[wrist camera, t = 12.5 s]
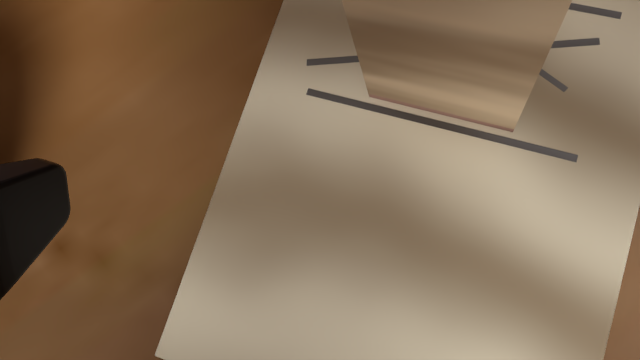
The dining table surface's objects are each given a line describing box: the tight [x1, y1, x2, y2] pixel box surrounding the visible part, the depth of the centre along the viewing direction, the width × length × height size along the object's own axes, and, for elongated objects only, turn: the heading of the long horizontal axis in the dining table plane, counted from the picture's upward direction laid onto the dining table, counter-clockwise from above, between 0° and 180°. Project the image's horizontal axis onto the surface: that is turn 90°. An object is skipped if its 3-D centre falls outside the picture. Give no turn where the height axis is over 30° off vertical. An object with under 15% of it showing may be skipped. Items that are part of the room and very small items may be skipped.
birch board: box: [155, 0, 640, 360], centre depth 20 cm, size 24×13×1 cm, turn 162°
